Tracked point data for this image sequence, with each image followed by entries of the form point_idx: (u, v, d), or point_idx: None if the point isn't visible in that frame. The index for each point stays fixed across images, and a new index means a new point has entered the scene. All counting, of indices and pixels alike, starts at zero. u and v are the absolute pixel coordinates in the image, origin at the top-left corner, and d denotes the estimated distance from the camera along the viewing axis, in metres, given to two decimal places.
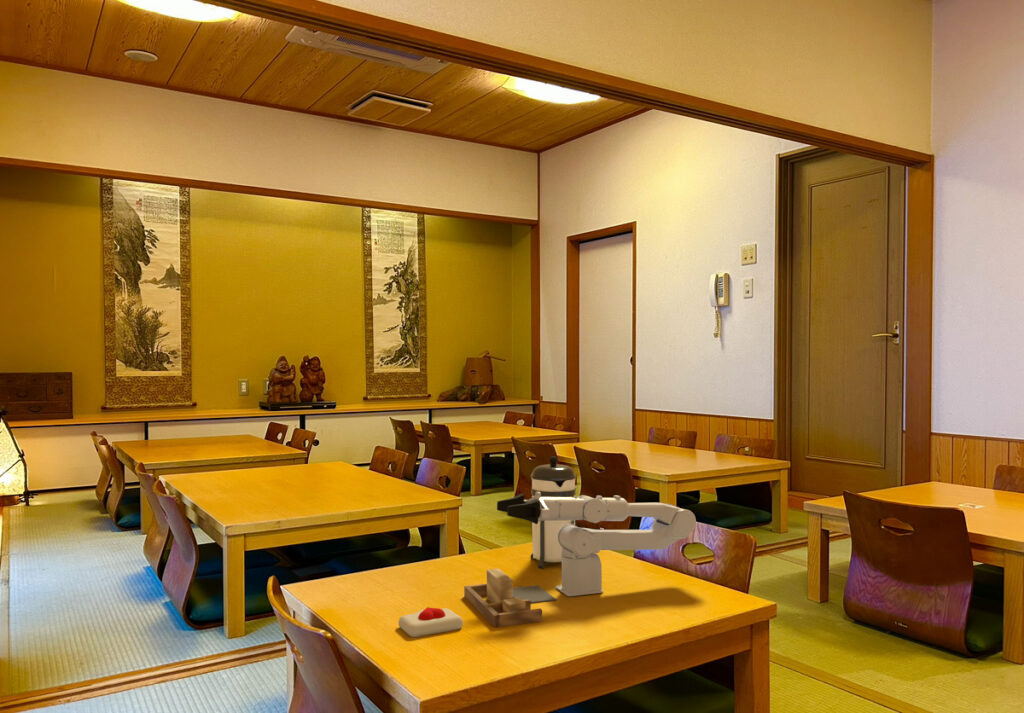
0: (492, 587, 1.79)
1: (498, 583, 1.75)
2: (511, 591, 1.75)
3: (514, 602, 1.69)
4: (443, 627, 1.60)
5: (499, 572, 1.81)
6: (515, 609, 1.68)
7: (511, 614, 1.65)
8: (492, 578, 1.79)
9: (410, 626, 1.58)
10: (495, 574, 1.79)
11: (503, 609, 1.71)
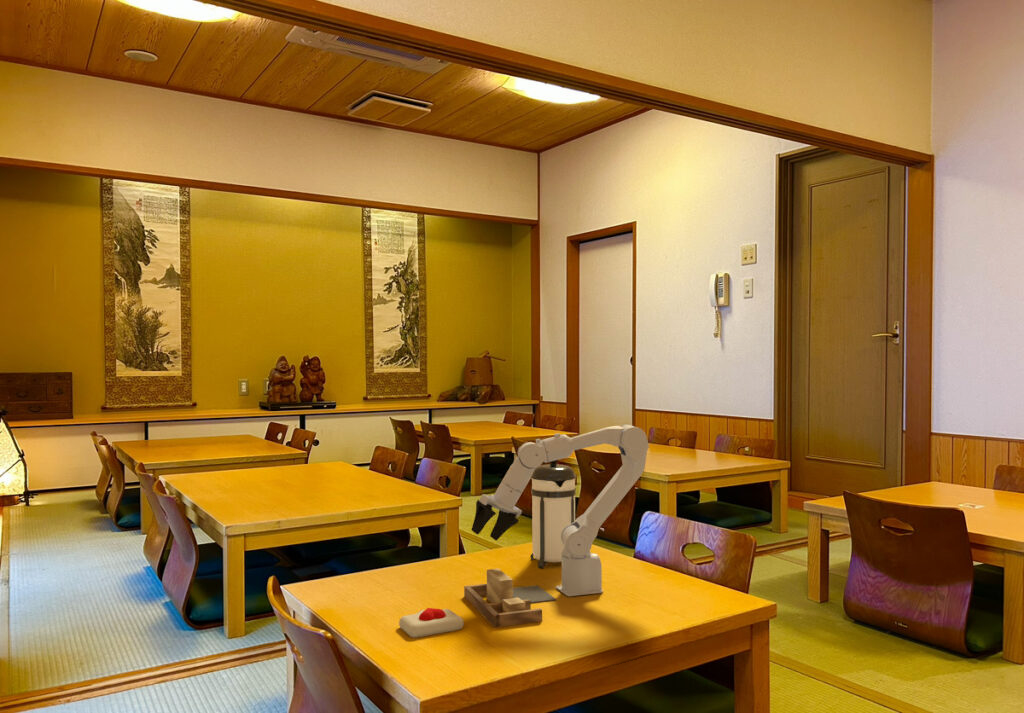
0: (492, 587, 1.79)
1: (498, 583, 1.75)
2: (511, 591, 1.75)
3: (514, 602, 1.69)
4: (444, 627, 1.60)
5: (499, 572, 1.81)
6: (515, 609, 1.68)
7: (511, 614, 1.65)
8: (492, 578, 1.79)
9: (410, 627, 1.58)
10: (495, 574, 1.79)
11: (503, 609, 1.71)
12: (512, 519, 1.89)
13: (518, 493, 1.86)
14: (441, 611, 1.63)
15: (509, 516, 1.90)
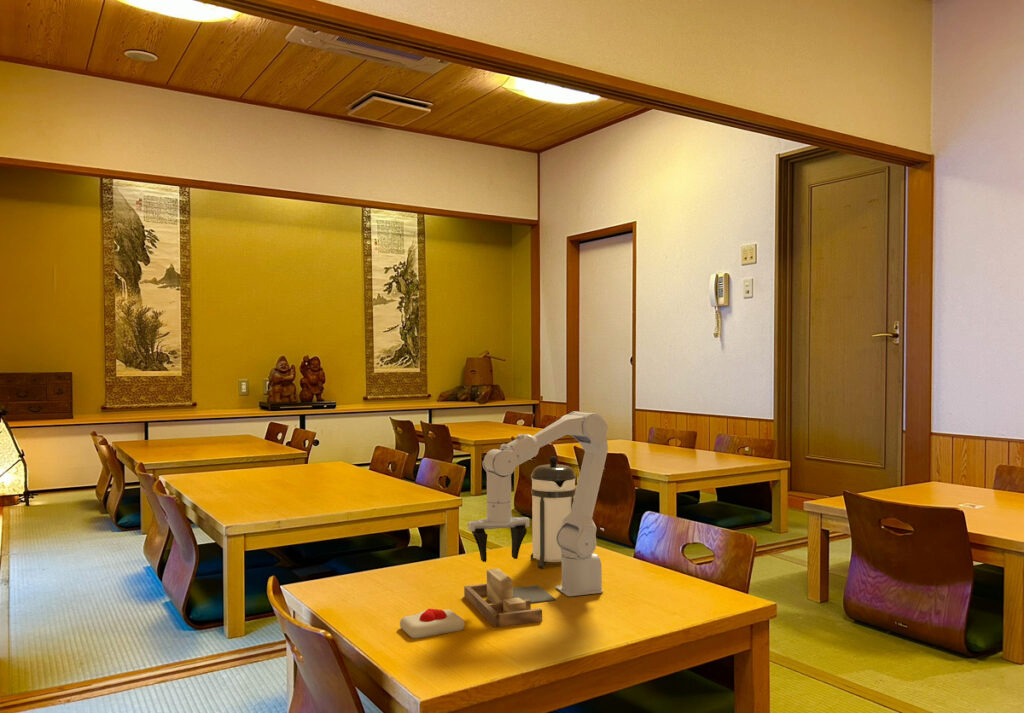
0: (492, 587, 1.79)
1: (498, 583, 1.75)
2: (511, 591, 1.75)
3: (514, 602, 1.69)
4: (444, 628, 1.60)
5: (499, 572, 1.81)
6: (515, 609, 1.68)
7: (511, 614, 1.65)
8: (492, 578, 1.79)
9: (411, 628, 1.57)
10: (495, 574, 1.79)
11: (503, 609, 1.71)
12: (517, 531, 1.78)
13: (502, 504, 1.77)
14: (442, 612, 1.62)
15: (515, 530, 1.80)
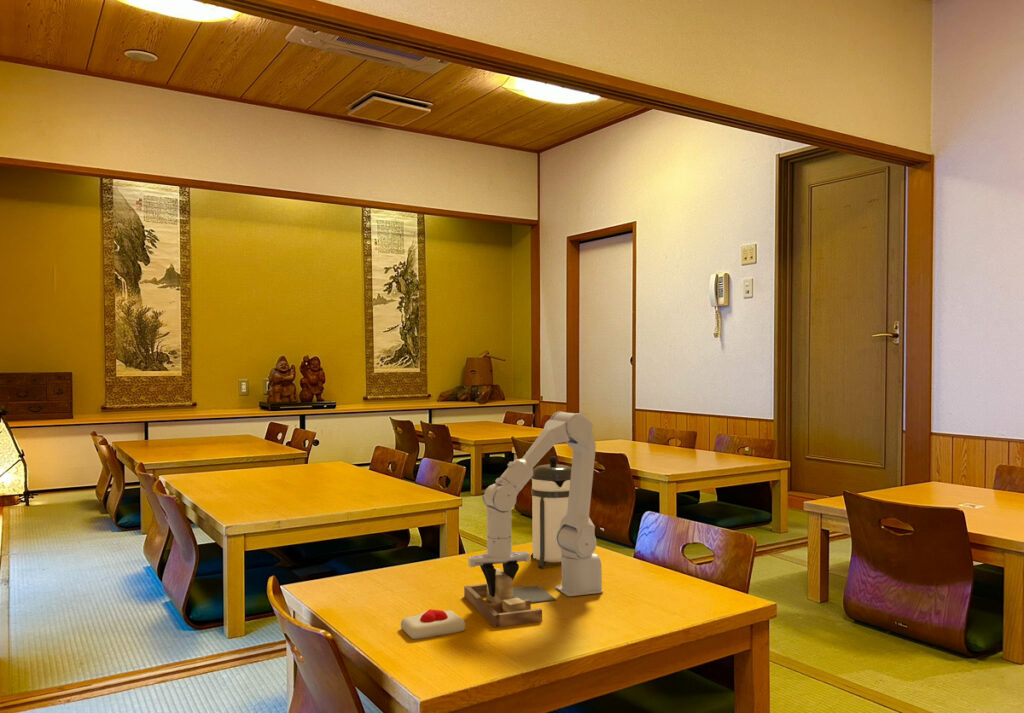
0: None
1: (498, 583, 1.75)
2: (511, 591, 1.75)
3: (514, 602, 1.69)
4: (445, 629, 1.59)
5: (499, 572, 1.81)
6: (515, 609, 1.68)
7: (511, 614, 1.65)
8: None
9: (411, 628, 1.57)
10: None
11: None
12: (509, 567, 1.78)
13: (502, 540, 1.77)
14: (443, 613, 1.62)
15: (507, 565, 1.79)
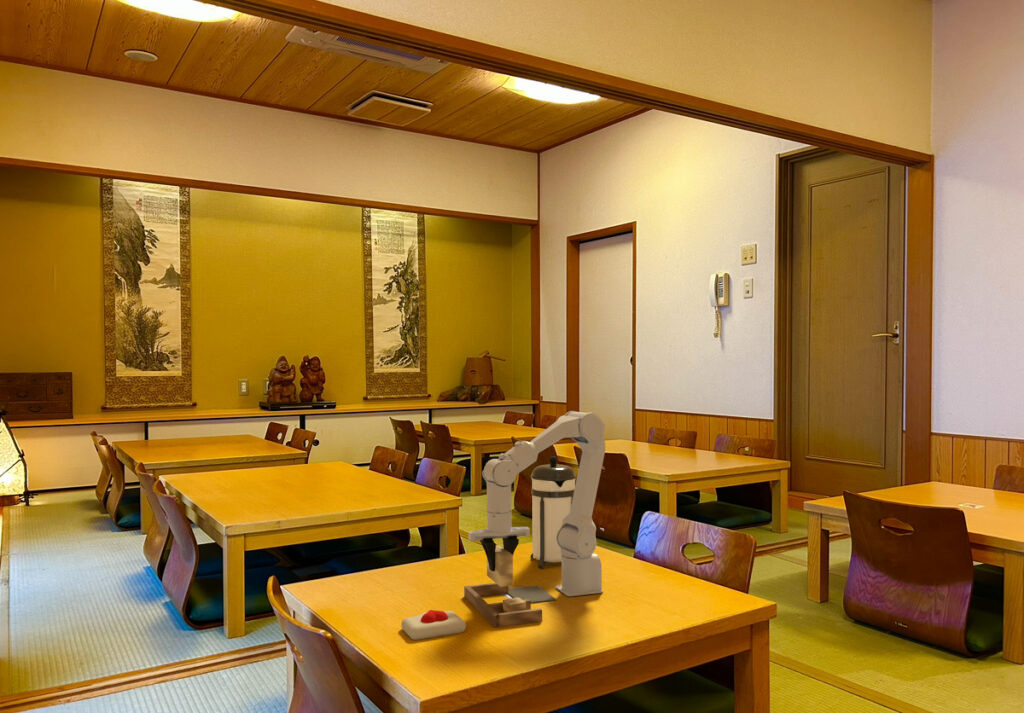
0: None
1: (498, 558, 1.75)
2: (511, 566, 1.75)
3: (514, 602, 1.69)
4: (445, 630, 1.59)
5: (499, 548, 1.81)
6: (516, 609, 1.68)
7: (511, 614, 1.65)
8: None
9: (411, 629, 1.57)
10: (495, 550, 1.79)
11: None
12: (509, 542, 1.78)
13: (502, 514, 1.77)
14: (443, 613, 1.61)
15: (507, 540, 1.79)
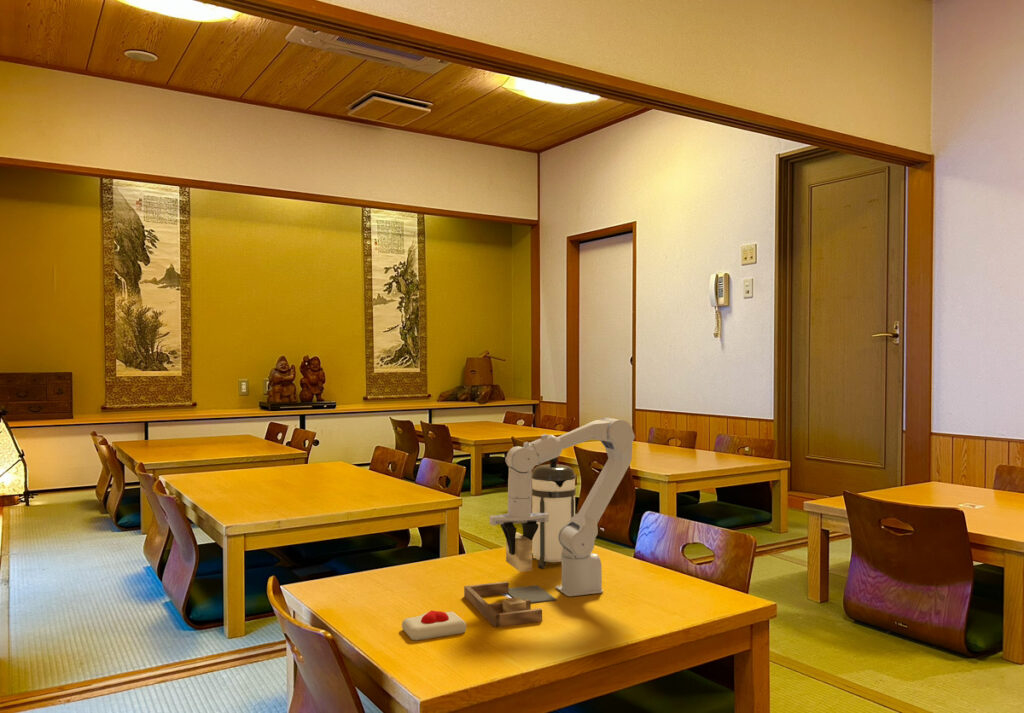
0: None
1: (518, 544, 1.81)
2: (531, 552, 1.81)
3: (514, 602, 1.69)
4: (445, 631, 1.58)
5: (519, 535, 1.87)
6: (516, 609, 1.68)
7: (511, 614, 1.65)
8: None
9: (411, 630, 1.56)
10: (515, 536, 1.85)
11: (503, 609, 1.71)
12: (529, 527, 1.84)
13: (523, 500, 1.83)
14: (444, 614, 1.61)
15: (527, 525, 1.85)
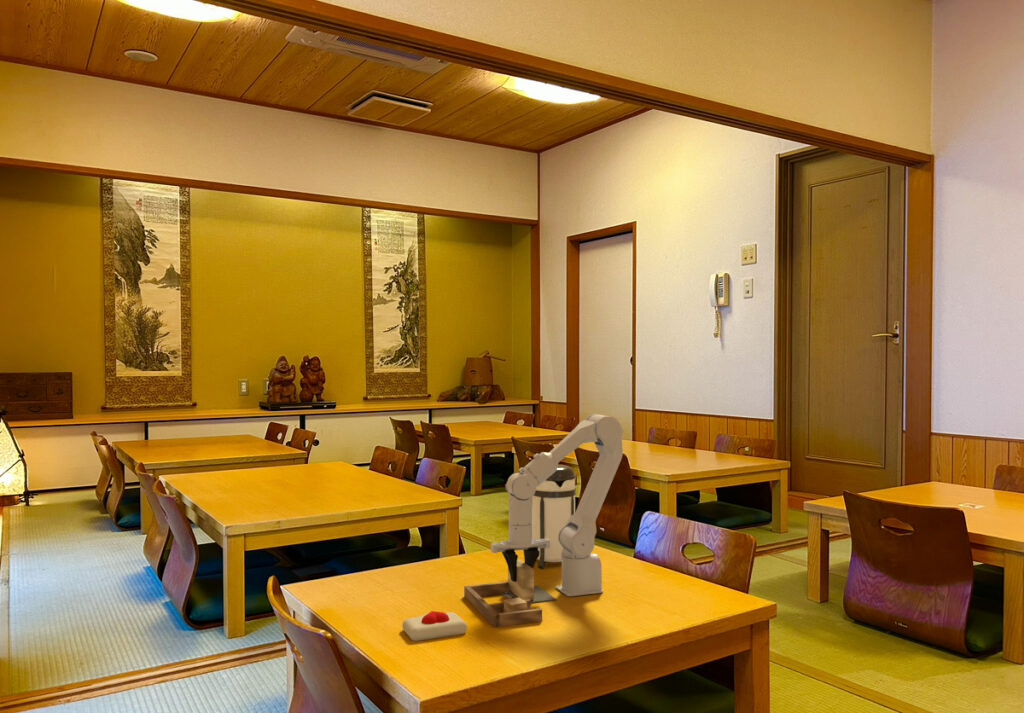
0: None
1: (519, 573, 1.81)
2: (532, 580, 1.81)
3: (515, 602, 1.69)
4: (446, 631, 1.58)
5: (520, 562, 1.87)
6: (517, 609, 1.68)
7: (511, 614, 1.65)
8: None
9: (411, 630, 1.56)
10: None
11: (503, 609, 1.71)
12: (530, 554, 1.84)
13: (524, 527, 1.83)
14: (444, 615, 1.61)
15: (528, 552, 1.85)
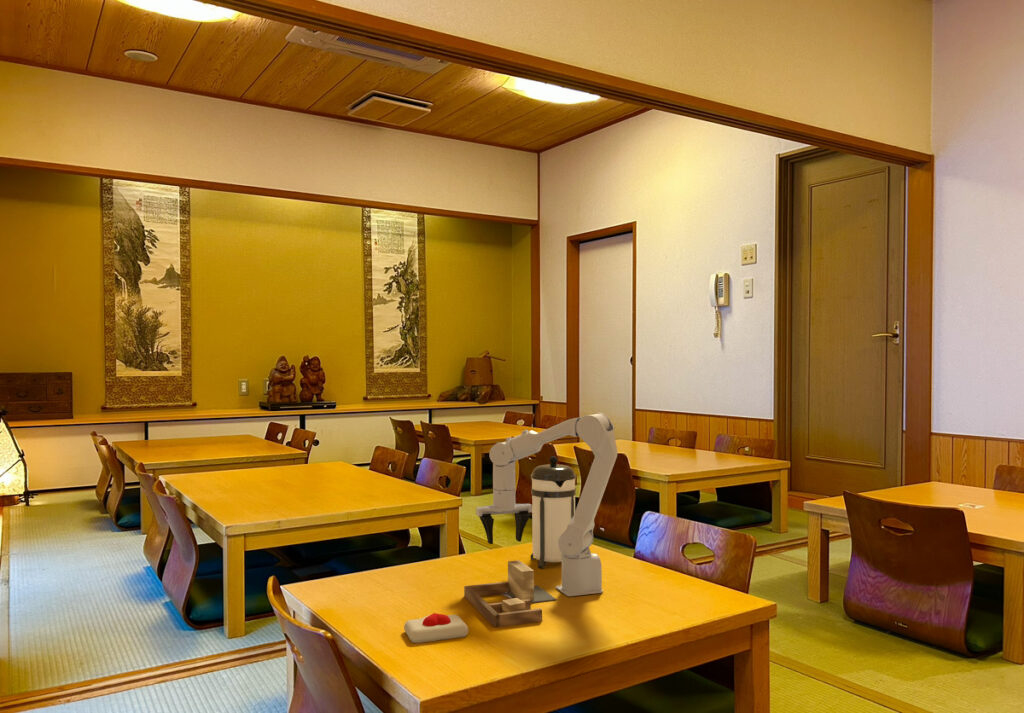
0: (513, 578, 1.86)
1: (519, 574, 1.81)
2: (532, 581, 1.81)
3: (514, 602, 1.69)
4: (446, 634, 1.56)
5: (520, 563, 1.87)
6: (515, 609, 1.68)
7: (511, 614, 1.65)
8: (514, 569, 1.85)
9: (411, 632, 1.55)
10: (516, 565, 1.86)
11: None
12: (521, 516, 1.96)
13: (507, 492, 1.94)
14: (445, 617, 1.59)
15: (519, 515, 1.97)
